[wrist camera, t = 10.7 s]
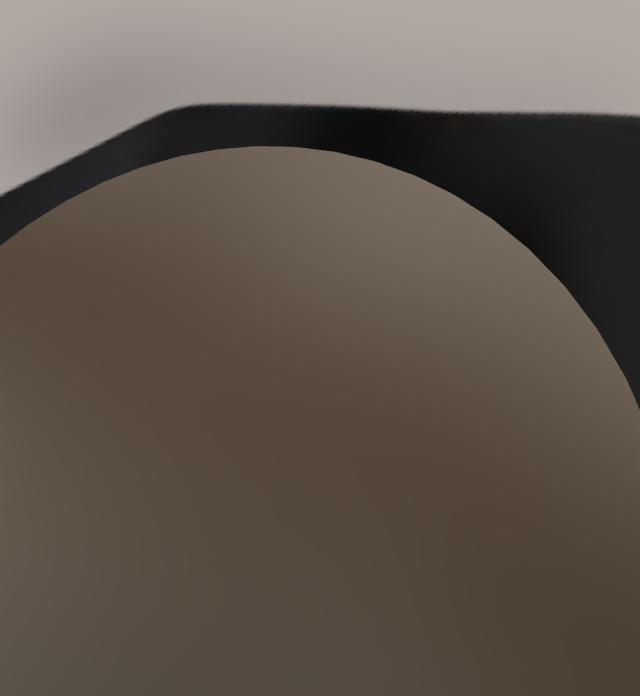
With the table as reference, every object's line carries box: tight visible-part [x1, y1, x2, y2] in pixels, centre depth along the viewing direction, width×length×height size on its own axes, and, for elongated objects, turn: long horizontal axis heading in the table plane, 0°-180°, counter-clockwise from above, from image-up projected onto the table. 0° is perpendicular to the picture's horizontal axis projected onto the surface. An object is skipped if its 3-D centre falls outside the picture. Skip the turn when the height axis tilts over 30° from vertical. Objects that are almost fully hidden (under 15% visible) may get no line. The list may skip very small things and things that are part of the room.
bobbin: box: [0, 146, 640, 696], centre depth 9 cm, size 7×7×14 cm
